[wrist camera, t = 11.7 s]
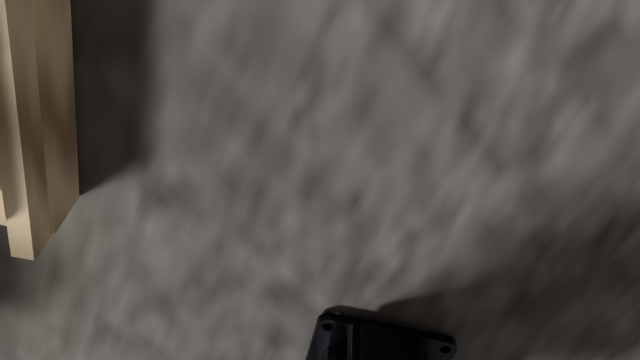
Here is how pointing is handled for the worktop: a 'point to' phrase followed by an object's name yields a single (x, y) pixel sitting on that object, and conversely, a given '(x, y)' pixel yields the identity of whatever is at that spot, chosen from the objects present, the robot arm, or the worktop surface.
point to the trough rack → (36, 122)
